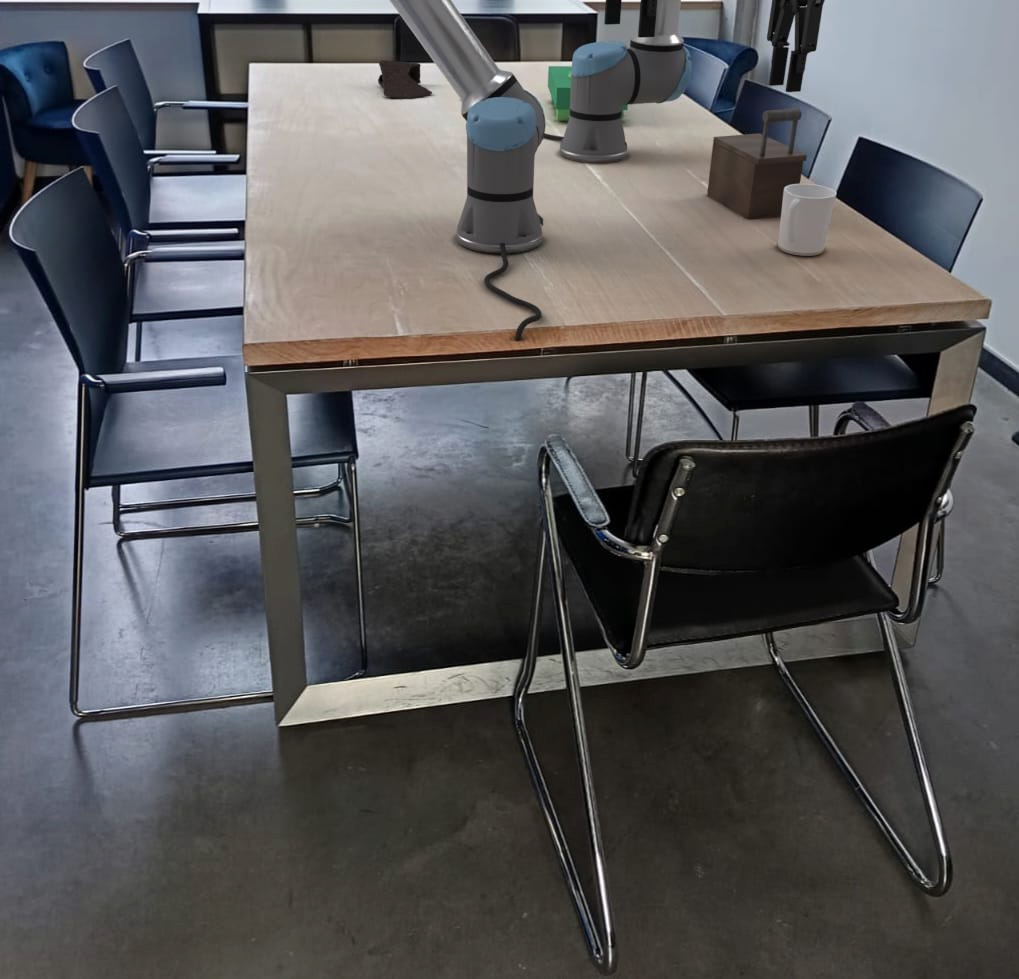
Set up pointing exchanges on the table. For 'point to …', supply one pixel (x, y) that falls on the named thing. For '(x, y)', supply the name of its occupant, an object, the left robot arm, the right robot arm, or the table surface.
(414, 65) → the axe head
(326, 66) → the table surface
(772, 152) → the lid
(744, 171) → the chest
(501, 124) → the left robot arm
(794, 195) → the mug
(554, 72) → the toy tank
